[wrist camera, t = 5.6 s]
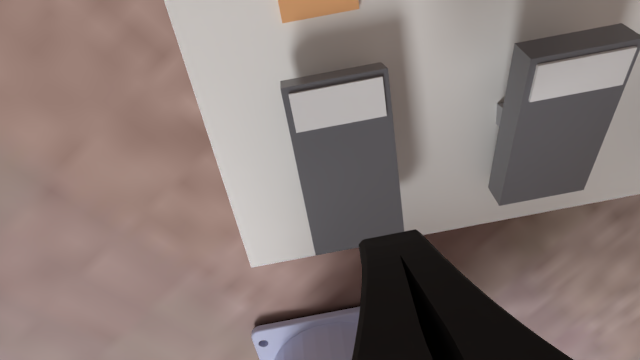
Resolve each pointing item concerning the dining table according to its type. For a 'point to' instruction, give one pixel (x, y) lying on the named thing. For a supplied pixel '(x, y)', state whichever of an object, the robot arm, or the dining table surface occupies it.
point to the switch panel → (406, 98)
